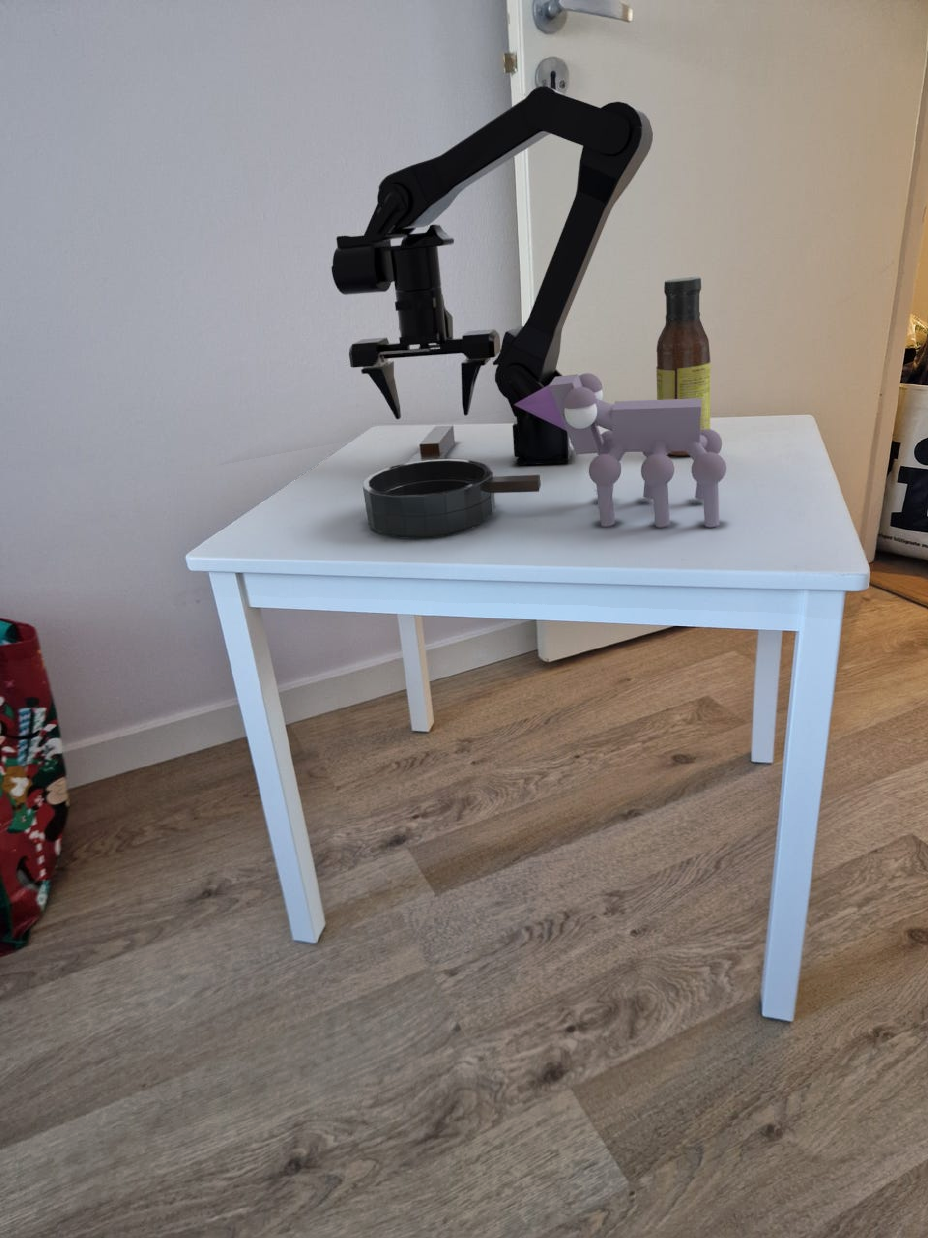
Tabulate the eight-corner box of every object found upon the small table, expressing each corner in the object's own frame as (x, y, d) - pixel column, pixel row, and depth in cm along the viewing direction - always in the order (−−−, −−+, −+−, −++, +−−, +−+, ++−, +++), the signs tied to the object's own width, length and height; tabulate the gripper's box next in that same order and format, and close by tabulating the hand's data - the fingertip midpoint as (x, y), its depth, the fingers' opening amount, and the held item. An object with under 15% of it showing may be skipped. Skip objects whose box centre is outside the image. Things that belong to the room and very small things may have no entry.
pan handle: (540, 485, 80) (540, 474, 80) (538, 491, 79) (538, 480, 78) (492, 487, 81) (491, 476, 81) (489, 493, 80) (489, 482, 79)
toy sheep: (509, 531, 77) (500, 390, 71) (531, 497, 86) (524, 369, 80) (722, 533, 71) (731, 380, 66) (721, 497, 81) (729, 359, 75)
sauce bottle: (715, 445, 98) (724, 273, 90) (699, 459, 94) (707, 279, 85) (664, 443, 102) (668, 277, 93) (647, 455, 97) (649, 282, 88)
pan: (502, 496, 87) (500, 456, 85) (484, 539, 76) (480, 494, 74) (388, 499, 90) (382, 461, 88) (352, 541, 78) (345, 498, 76)
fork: (432, 444, 112) (430, 426, 111) (459, 443, 112) (458, 424, 110) (402, 479, 97) (399, 459, 96) (433, 478, 96) (431, 457, 95)
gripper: (502, 278, 102) (510, 400, 109) (365, 290, 106) (381, 407, 112) (489, 284, 92) (498, 418, 99) (338, 297, 96) (358, 425, 103)
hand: (432, 416), depth 103 cm, fingers open, 9 cm apart
